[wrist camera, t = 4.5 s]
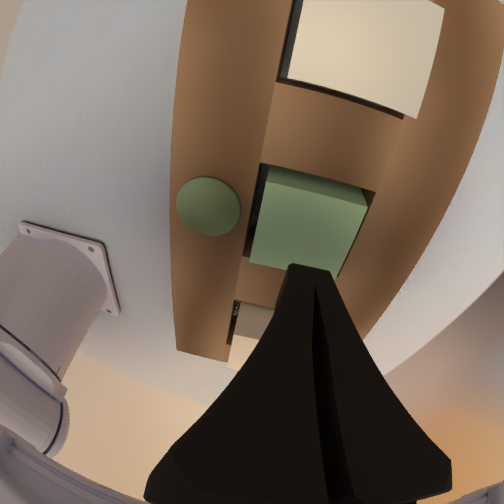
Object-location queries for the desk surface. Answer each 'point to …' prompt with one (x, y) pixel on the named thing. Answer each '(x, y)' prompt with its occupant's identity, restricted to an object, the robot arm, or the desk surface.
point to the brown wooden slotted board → (310, 158)
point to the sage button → (306, 221)
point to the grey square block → (369, 49)
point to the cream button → (248, 332)
